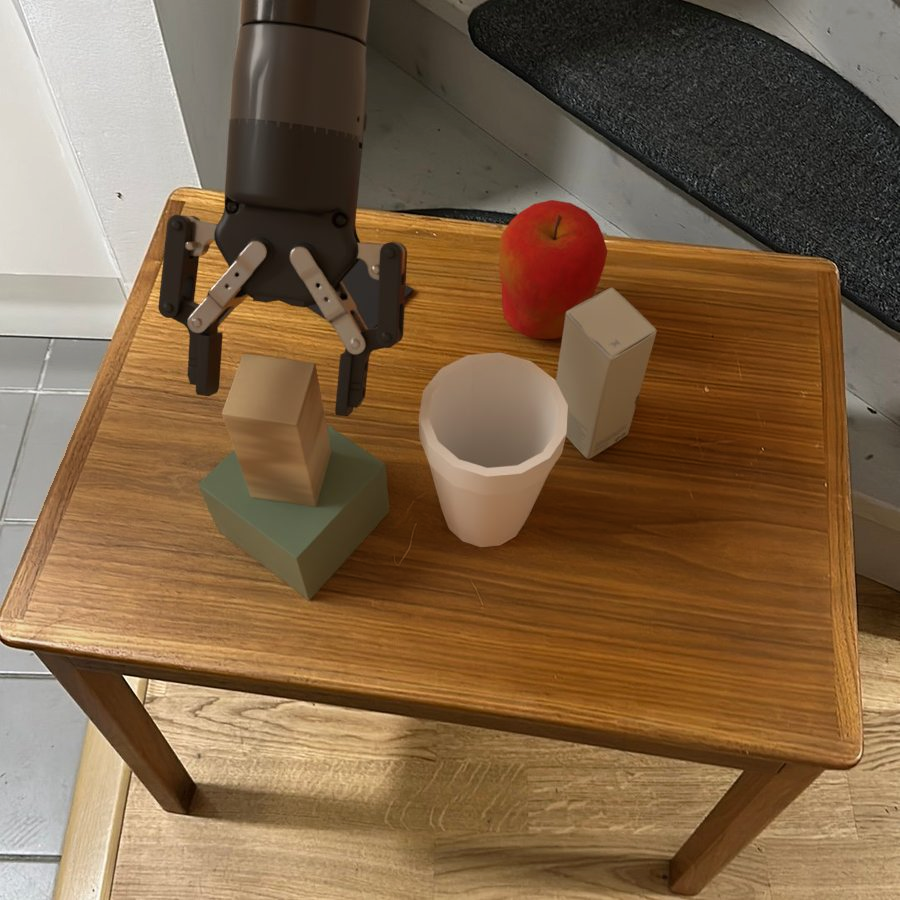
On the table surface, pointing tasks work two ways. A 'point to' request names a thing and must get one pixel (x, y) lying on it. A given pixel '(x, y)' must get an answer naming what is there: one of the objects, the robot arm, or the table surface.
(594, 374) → the box
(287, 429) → the block
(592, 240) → the apple
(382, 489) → the stand
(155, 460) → the table surface
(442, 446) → the foam cup
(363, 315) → the mat
